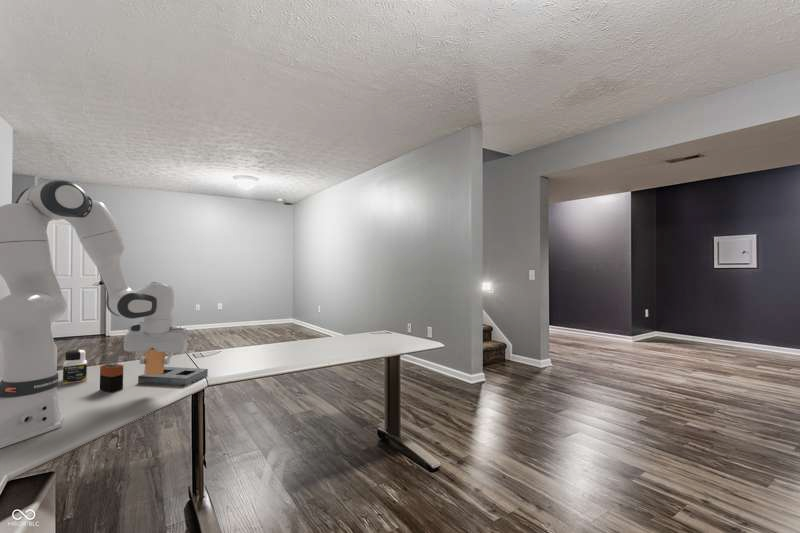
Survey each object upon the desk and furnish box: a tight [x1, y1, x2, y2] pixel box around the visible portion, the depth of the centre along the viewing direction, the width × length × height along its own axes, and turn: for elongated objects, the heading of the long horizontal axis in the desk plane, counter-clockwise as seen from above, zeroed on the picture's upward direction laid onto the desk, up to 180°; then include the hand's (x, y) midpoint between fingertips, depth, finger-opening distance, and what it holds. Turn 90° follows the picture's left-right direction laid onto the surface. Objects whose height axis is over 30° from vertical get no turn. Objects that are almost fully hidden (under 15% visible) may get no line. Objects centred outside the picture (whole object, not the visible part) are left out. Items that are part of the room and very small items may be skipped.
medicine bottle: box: [62, 349, 88, 385], centre depth 149 cm, size 7×7×12 cm
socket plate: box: [137, 366, 209, 386], centre depth 153 cm, size 14×20×3 cm
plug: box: [143, 348, 166, 375], centre depth 137 cm, size 5×4×10 cm
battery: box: [99, 361, 124, 393], centre depth 139 cm, size 4×7×10 cm, turn 70°
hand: (154, 363), depth 137 cm, fingers closed on plug, 6 cm apart
